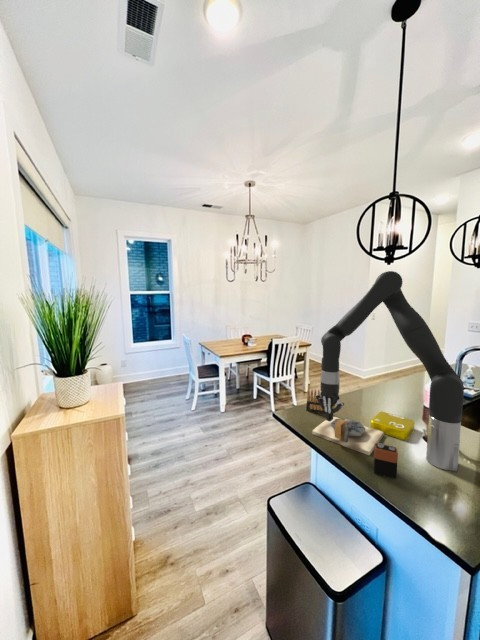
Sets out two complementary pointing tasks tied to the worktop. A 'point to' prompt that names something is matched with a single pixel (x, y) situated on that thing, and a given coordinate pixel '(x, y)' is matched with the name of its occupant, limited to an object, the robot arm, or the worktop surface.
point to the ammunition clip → (313, 402)
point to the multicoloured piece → (354, 431)
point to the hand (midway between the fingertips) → (329, 420)
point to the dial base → (357, 443)
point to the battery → (385, 460)
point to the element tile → (393, 425)
